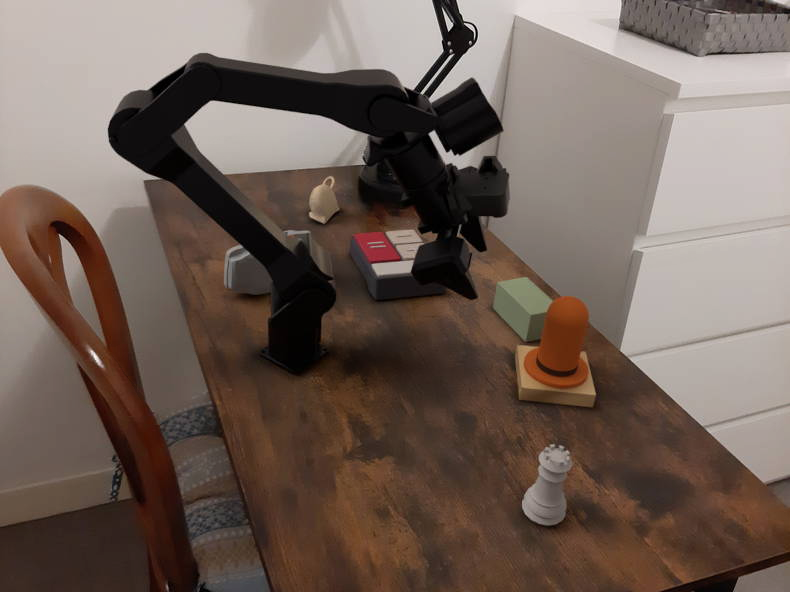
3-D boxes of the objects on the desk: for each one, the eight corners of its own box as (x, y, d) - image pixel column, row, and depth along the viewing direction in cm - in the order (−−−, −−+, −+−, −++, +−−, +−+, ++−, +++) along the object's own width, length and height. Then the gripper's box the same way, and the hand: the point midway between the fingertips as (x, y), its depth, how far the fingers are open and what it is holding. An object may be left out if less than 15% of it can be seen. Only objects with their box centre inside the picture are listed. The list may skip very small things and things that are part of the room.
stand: (519, 400, 92) (521, 387, 91) (514, 356, 100) (517, 344, 99) (592, 407, 92) (596, 395, 91) (582, 363, 100) (585, 351, 99)
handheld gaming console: (312, 271, 115) (312, 223, 111) (321, 279, 113) (322, 232, 109) (222, 294, 108) (220, 244, 104) (231, 303, 106) (228, 253, 102)
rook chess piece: (559, 495, 79) (574, 438, 75) (569, 529, 75) (585, 470, 71) (517, 494, 79) (530, 436, 75) (525, 527, 75) (539, 469, 71)
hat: (526, 385, 92) (540, 313, 86) (521, 347, 98) (534, 279, 93) (592, 391, 91) (611, 321, 86) (582, 353, 98) (599, 285, 93)
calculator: (415, 226, 122) (448, 267, 110) (413, 250, 124) (445, 293, 112) (349, 231, 119) (376, 274, 107) (348, 256, 121) (374, 300, 109)
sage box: (525, 342, 103) (531, 314, 101) (492, 308, 110) (497, 281, 107) (556, 336, 105) (562, 308, 102) (521, 302, 112) (526, 276, 109)
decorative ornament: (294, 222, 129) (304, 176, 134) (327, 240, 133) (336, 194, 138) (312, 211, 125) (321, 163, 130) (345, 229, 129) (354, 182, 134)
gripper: (476, 201, 76) (534, 310, 84) (496, 110, 89) (545, 211, 97) (381, 231, 81) (445, 331, 89) (414, 141, 94) (467, 235, 102)
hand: (479, 273), depth 94 cm, fingers open, 9 cm apart
